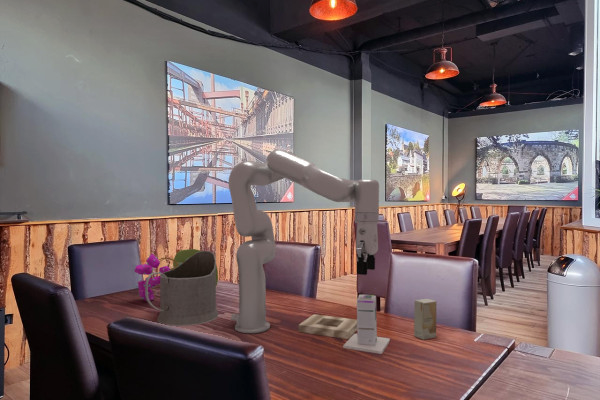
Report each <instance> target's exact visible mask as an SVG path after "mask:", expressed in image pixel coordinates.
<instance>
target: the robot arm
mask: <svg viewBox="0 0 600 400" xmlns="http://www.w3.org/2000/svg"><path fill="white" fill-rule="evenodd" d="M282 179H287V180H289V181H291V182H294V183H295V184H298V185H300V186H302V187H303V188H305V189H307V190H309V191H310V192H312V193H314V194H316V195H318V196H320V197H323V198H325V199H327V200H329V201H332V202H336V203H351V202H354V223H355V224H356V237H355V238H356V239H355V252H356V274H357V275H362V276H366V275H368V270H373V271H375V269H376V253H378V251H379V237H378V224H380V223H379V222H380V221H379V218H380V214H379V213H380V210H379V209H380V205H379V203H380V199H379V198H380V184H379V182H378V180H376V179H365V178H363V179H358V180H354V179H353V180H352V179H346V178H341V177H338V176H336V175H333V174H331V173H328V172H326V171H325V170H322V169H320V168H318V167H317V165H316V164H315V163H313V162H312V161H309V160H306V159H304V158H302V157H299V156H297V155H296V154H294V153H293V152H290V151H288V150H282V149H274V150H272V151H270V153H268V155H267V157H266V161H265V162H257V161H251V160H245V161H241V162H239V163H237V164H236V165H234V167H233V168H232V169H231V172H230V173H229V177H228V188H229V192H230V198H231V203H232V211H233V217H234V225H235V229H236V232H237V233H238V234H239V235H240V236H241V237H246V238H247V237H250V238H251V239H250V240H246V241H244V242H243V243H241V244H240V245H239V246H238V248H237V250H236V253H235V254H236V256H235V257H236V262H237V263H236V264H237V269H238V270H237V271H238V308H239V309H238V313H232V314H231V316H230V321H235V322H236V323H235V324H234V329H235V331H237V332H239V333H243V334H259V333H263V332H267V331H268V330H269V329H270V328H271V323H270V322H269V321H267V319H266V317H267V315H266V311H267V309H266V306H267V305H266V301H267V300H266V299H267V298H266V297H267V296H266V291H267V290H266V287H267V286H266V285H267V284H266V273H265V269H264V266H263V265H264V264H268V263H270V262H272V261H273V259H274V258H275V256H276V253H277V251H276V249H277V248H276V241H275V234H274V227H273V222H272V220H271V217H270V215H269V214H268V213H267V212H265V211H263V210H259V209H258V207H257V203H256V196H255V194H254V192H253V190H252V186H259V187H260V186H261V187H262V186H263V187H264V186H268V185H271V184H273V183H276V182H278V181H280V180H282Z"/></svg>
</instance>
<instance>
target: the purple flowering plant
mask: <svg viewBox="0 0 600 400" xmlns="http://www.w3.org/2000/svg"><path fill="white" fill-rule="evenodd" d="M201 251H202V250H200V249H197V248H188V249H181V250H179V251H177V252H176V254H175V255H174V257H173V258H171V257H161V258H159V259H158V256H155V255H154V253H151V254H150V255H149V256H148V257H146V260H145V261H146V262H145V263H144V264H137V265H136V266H135V267H134V271H133V272H135V273H136V274H138V275H147V277H145V280H139V281H137V286H136V288H137V289H138V296H140V298H141V300H144V301H145V302H148V301H147V299H146V294H145V284H146V280H147V278H148V276H149V275H150V274H151V273H153V270H154V269H157V268H159V266H160V264H161V262H162V261H163V260H170V261H172V266H171V267H169V266H168V265H164V266H161V267H160V268H159V269H158V273H164V272H167V271H170V270H173V269H175V268H176V267H178V266H179V265H181V264H182V263H183V262H185V261H186V260H187V259H188V258H190V257H191V256H193V255H194V254H196V253H197V252H201ZM218 282H219V273H218V266H217V264H216V287H217V286H218ZM153 289H160V274H158V276H154V277H150V279H149V281H148V297H149V300H150V302H151V301H153V300H154V299H155V295H154V291H153Z"/></svg>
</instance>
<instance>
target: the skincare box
mask: <svg viewBox="0 0 600 400" xmlns="http://www.w3.org/2000/svg"><path fill="white" fill-rule="evenodd" d="M413 311H414V312H413V313H414V314H413V315H414V317H413V318H414V319H413V321H414V323H413V324H414V325H413V328H414V329H413V330H414V332H413V336H414V337H416V338H419V339H421V340H427V339H433V338H437V301H436V300H434V299H430V298H423V299H415V300H414V310H413Z"/></svg>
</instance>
